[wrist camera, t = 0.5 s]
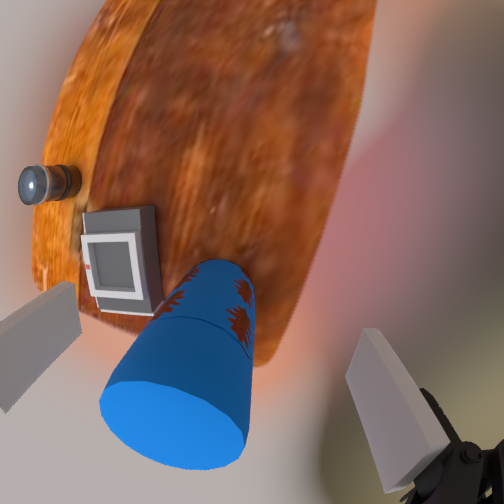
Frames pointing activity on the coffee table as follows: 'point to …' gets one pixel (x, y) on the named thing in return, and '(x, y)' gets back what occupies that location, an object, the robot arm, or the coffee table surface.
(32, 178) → the lens
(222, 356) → the thermos
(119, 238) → the grey square frame
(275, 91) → the coffee table surface
